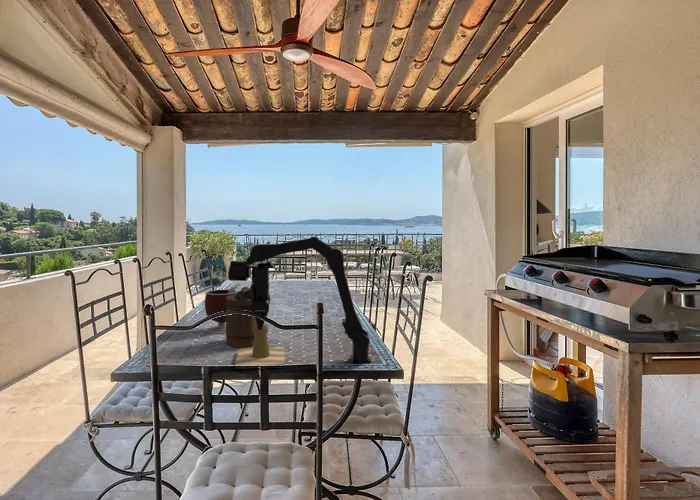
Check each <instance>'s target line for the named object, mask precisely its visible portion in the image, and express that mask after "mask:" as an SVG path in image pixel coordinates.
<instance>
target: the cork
mask: <svg viewBox="0 0 700 500" xmlns="http://www.w3.org/2000/svg"><path fill="white" fill-rule="evenodd" d="M253 332H254V334H255V337H254V344H253V346H252V348H253V352H252V357H253V358H258V359H260V358H267V357H269V356H270V353H269V348H270V347H269V341H268V333H269V326H268V324H267V323H265V324H263V327H262V329H261V330H258V327H257V324H256V325H254V327H253Z"/></svg>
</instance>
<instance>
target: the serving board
mask: <svg viewBox="0 0 700 500" xmlns="http://www.w3.org/2000/svg"><path fill="white" fill-rule="evenodd" d="M252 352H253V347H252V348H250V347H248V348H239V349H238V352H237V356H236V358H235V361H234V364H242V365H243V364H245V365H285V364H286V363H285V361H286V360H285V359H286V358H285V347H284V346H281V347H280V346H279V347H278V346H277V347H269V353H270V356H269V357H267V358H260V359H258V358H253V357H252ZM285 366H286V365H285Z"/></svg>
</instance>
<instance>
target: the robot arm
mask: <svg viewBox="0 0 700 500" xmlns="http://www.w3.org/2000/svg"><path fill="white" fill-rule="evenodd" d="M311 249H312V250H314V251H315V252H317V253H318V254H319V255H321V256H322V257H324V258H325V260H326V262H327V265H328V266H329V269H330V271H331V273H332V274H333V276H334V279H335V283H336V286H337V290H338V294H339V297H340V298H339V299H340V301H341V305H342V308H343V309H342V310H343V311H344V315H345V316H344V317H345V318H341V324H342V327H343V329H344V335H346V336H347V337H348V339H350V340H351V341H352V345H351V347H352V349H351V351H352V353H351V354H352V355H350V356H349V359H350V361H351V362H352V364H364V363H365V364H368V363H372V359H371V358H370V341H371V339H370V335H369V332H368V331H366V330H365V328H364V326H363V324H362V321H361V319H360V317H359V315H358V314H357V312H356V309H355V306H354V302H353V298H352V295H351V291H350V287H349V283H348V280H347V277H346V272H345V263H344V262H345V261H344V253H343V251H342V250H341V249H339V248H338V247H331V246H330V245H329V244H327V243H326V242H324V241H323V240H321V239H320V238H319V237H318V236H312V237H311V236H310V237H309V238H304V239H303V238H302V239H299V240H293V241H292V240H291V241H287V242H282V243H259V244H255V245H254V246H253V247H251V249H250V253H249V255H248V258H247V259H246V260H245V261H244V260H243V261H237V260H231V261H230V262H229V263H230V264H229V268H228V270H227V271H228V272H227V276H228V280H229V281H230V282H234V281H235V282H237V281H238V282H247V281H248V279H251V285H250V287H248V288H249V289H246V290H241V289H240V290H239V291H238V290H237V293H235V295H234V296H235V300H236V301H237V304H239V303H241V302H243V301H245V300H248V299H250V301H252V302H251V303H250V304H249V311H251V312H254V313H257V314H260V315H262V316H265V317H266V318H267V316H268V314H269V311H270V304H271V294H270V269H274V268H275V267H276V266H275V264H273V263H272V261H271V260H269V259H272V258H274V257H277V256H280V255H286V254H290V253H295V252H299V251H305V250H307V251H308V250H311ZM267 260H269V261H267ZM264 261H267V262H264ZM255 263H257V265H253V264H255ZM255 318H256V323H257V327H258V330H261V329H262V327H263V324H264V322H265V323H266V320H265V321H263V320H261V319H259V318H257V317H255Z"/></svg>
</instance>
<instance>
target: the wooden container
mask: <svg viewBox="0 0 700 500" xmlns="http://www.w3.org/2000/svg"><path fill="white" fill-rule="evenodd" d="M249 288H250V287H248V286H243V287H242V288H241V289H240V291H241V290H246V289H249ZM251 302H252V301H250V299H248V300H245V301H243V302H241V303H239V304H237V301H236V300H235V296H234V295H231V296H228V297H227V300H226V306H227V307H226V311H227V310H247V311H249V304H250V303H251ZM225 324H226V334H225V343H226V345H227V346H230V347H232V348H233V347H234V348H250V347H252V348H253V344H254V337H255V334H254V332H253V327H254V325H256V324H257V323H256V318H255V317H253V316H248V315H242V314H232V315H226V322H225ZM264 324H266V321H265V322H264Z"/></svg>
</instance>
